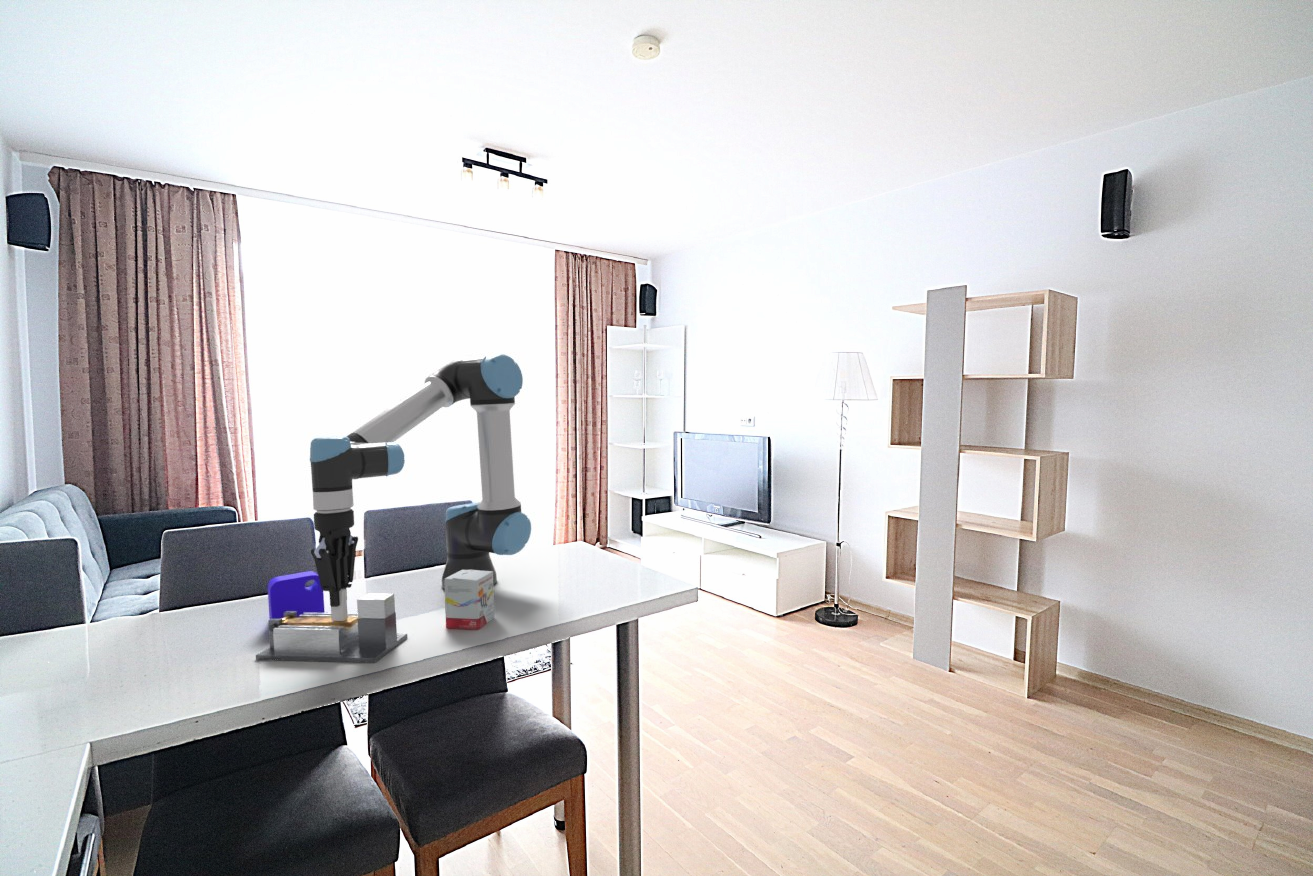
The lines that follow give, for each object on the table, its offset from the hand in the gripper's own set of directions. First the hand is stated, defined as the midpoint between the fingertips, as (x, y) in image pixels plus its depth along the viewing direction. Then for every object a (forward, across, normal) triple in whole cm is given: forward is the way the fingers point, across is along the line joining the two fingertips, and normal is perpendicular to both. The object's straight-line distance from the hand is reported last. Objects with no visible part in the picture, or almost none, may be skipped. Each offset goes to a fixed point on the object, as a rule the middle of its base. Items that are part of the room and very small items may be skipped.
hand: (339, 619), depth 132 cm
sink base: (+7, 0, -2) cm, 7 cm away
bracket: (+7, -19, -25) cm, 32 cm away
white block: (-1, 0, +8) cm, 8 cm away
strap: (+2, 0, -6) cm, 6 cm away
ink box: (+7, -17, +22) cm, 28 cm away
